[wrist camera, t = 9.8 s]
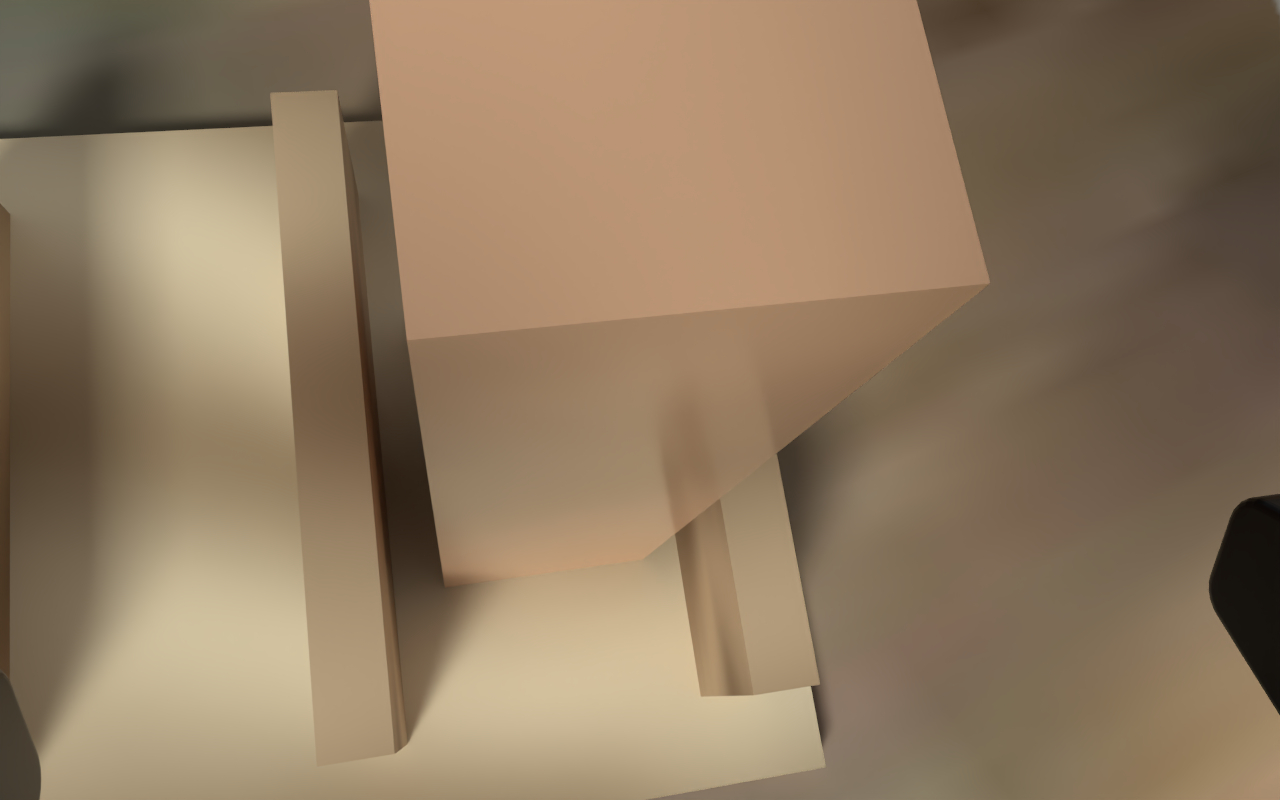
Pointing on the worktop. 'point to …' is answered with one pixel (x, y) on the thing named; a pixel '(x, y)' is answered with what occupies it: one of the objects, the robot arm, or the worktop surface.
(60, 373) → the drying rack
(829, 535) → the worktop surface
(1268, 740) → the worktop surface
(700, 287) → the tan rectangular block
